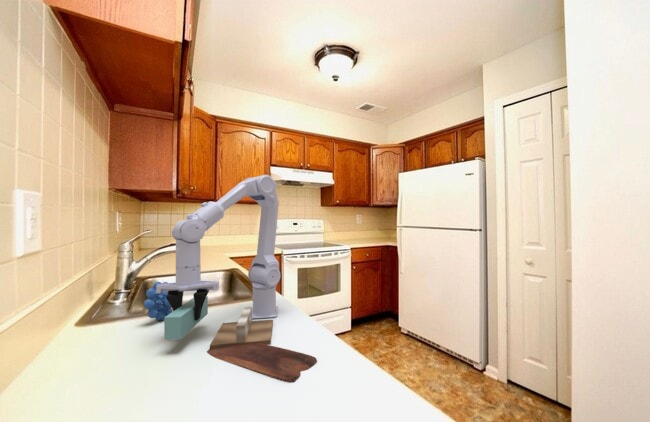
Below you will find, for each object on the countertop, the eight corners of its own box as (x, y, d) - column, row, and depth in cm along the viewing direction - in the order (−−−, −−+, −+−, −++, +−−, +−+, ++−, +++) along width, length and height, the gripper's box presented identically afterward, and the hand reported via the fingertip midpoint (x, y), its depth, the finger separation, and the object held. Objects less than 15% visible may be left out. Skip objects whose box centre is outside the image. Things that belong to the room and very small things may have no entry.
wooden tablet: (197, 348, 62) (231, 327, 71) (198, 357, 62) (232, 335, 71) (292, 381, 49) (319, 350, 58) (293, 393, 49) (320, 360, 58)
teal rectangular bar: (194, 314, 77) (194, 296, 77) (207, 313, 77) (207, 296, 77) (164, 339, 61) (164, 317, 61) (180, 339, 61) (180, 316, 61)
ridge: (222, 326, 77) (222, 308, 77) (272, 323, 79) (272, 305, 79) (209, 349, 63) (209, 327, 63) (270, 344, 65) (270, 323, 65)
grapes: (158, 329, 75) (158, 286, 76) (137, 327, 77) (137, 285, 77) (186, 314, 87) (186, 277, 87) (168, 313, 88) (168, 276, 88)
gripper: (150, 270, 64) (150, 327, 64) (213, 267, 66) (214, 323, 66) (163, 265, 71) (163, 317, 71) (220, 263, 73) (220, 313, 73)
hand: (188, 319), depth 69 cm, fingers closed on teal rectangular bar, 4 cm apart
